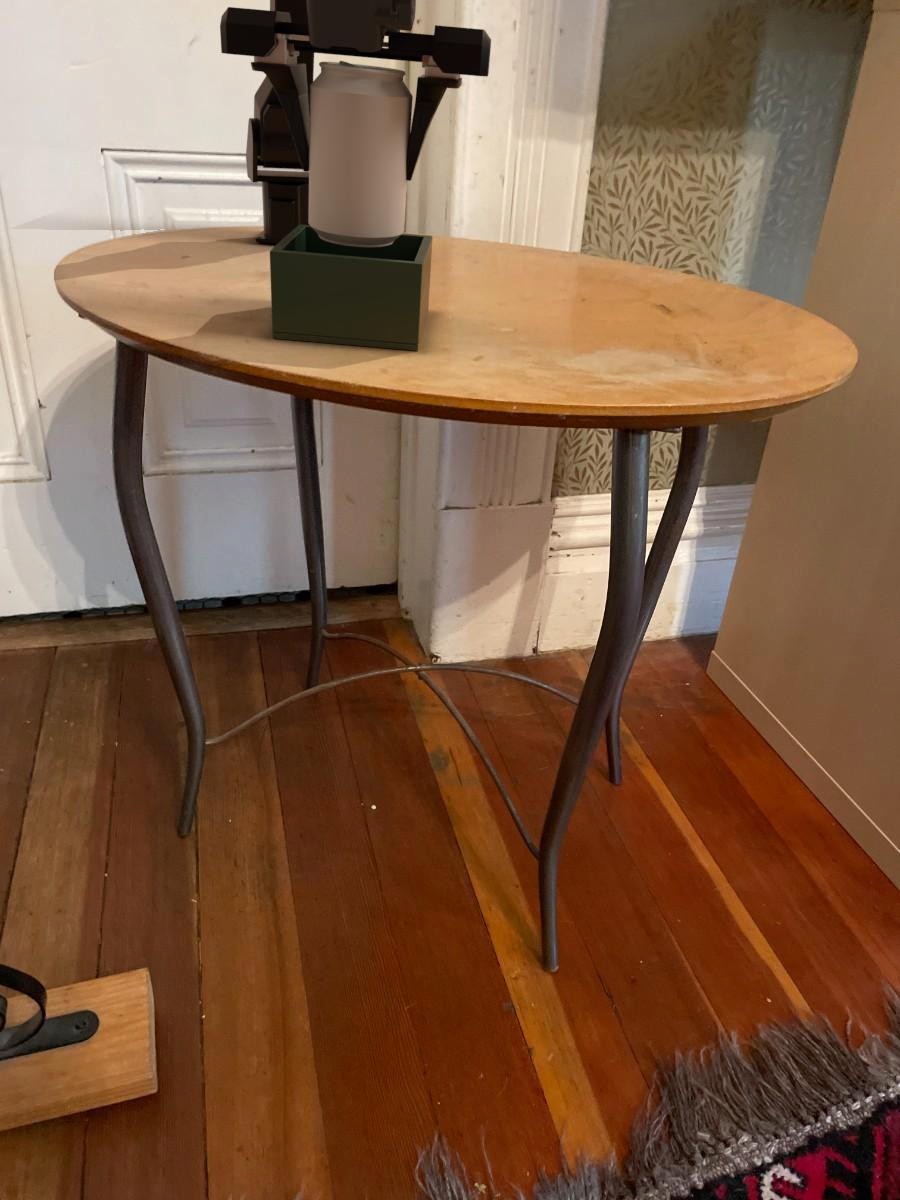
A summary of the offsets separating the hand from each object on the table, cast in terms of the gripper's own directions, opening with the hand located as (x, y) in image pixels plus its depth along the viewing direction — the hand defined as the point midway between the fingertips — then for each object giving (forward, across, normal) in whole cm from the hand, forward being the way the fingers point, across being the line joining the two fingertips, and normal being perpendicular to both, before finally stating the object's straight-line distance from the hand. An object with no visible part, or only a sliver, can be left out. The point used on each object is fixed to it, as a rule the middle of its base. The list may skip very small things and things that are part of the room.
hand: (357, 175), depth 68 cm
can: (+5, 0, 0) cm, 5 cm away
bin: (+11, 0, 0) cm, 11 cm away
